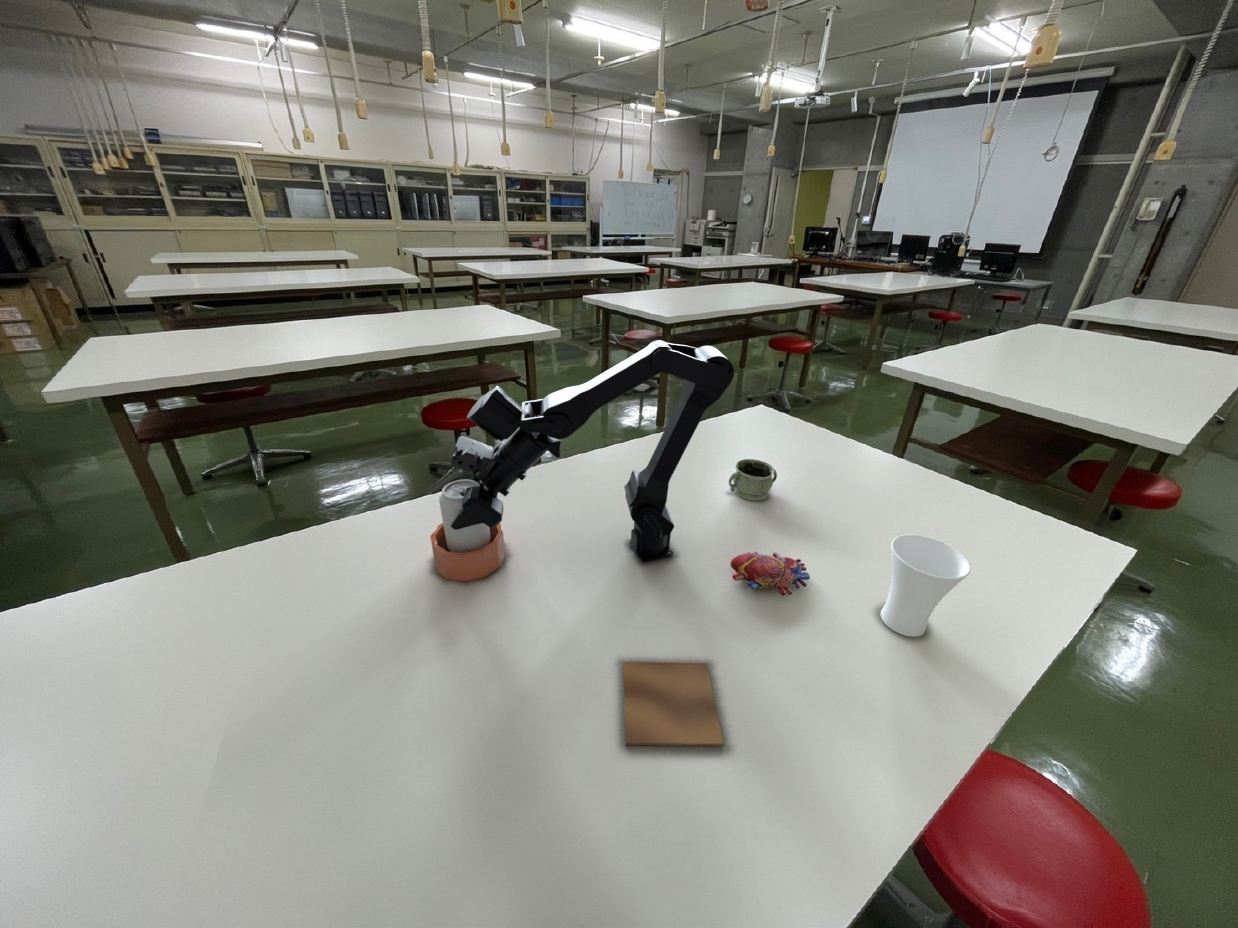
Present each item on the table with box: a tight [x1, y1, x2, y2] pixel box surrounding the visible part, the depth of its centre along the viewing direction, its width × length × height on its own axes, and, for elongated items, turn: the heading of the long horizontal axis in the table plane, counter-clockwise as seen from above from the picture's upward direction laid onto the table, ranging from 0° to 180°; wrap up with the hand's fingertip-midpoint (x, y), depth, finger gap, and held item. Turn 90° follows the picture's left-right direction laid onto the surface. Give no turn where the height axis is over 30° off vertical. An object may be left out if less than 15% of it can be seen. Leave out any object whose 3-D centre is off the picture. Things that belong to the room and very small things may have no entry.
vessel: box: [728, 458, 778, 501], centre depth 113 cm, size 12×9×6 cm
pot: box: [430, 522, 506, 582], centre depth 89 cm, size 12×12×6 cm
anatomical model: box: [730, 551, 811, 596], centre depth 87 cm, size 11×4×15 cm
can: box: [438, 478, 491, 553], centre depth 86 cm, size 8×8×12 cm
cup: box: [880, 533, 972, 638], centre depth 77 cm, size 10×10×14 cm
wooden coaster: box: [622, 661, 724, 747], centre depth 66 cm, size 12×12×1 cm
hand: (456, 514), depth 85 cm, fingers closed on can, 7 cm apart
